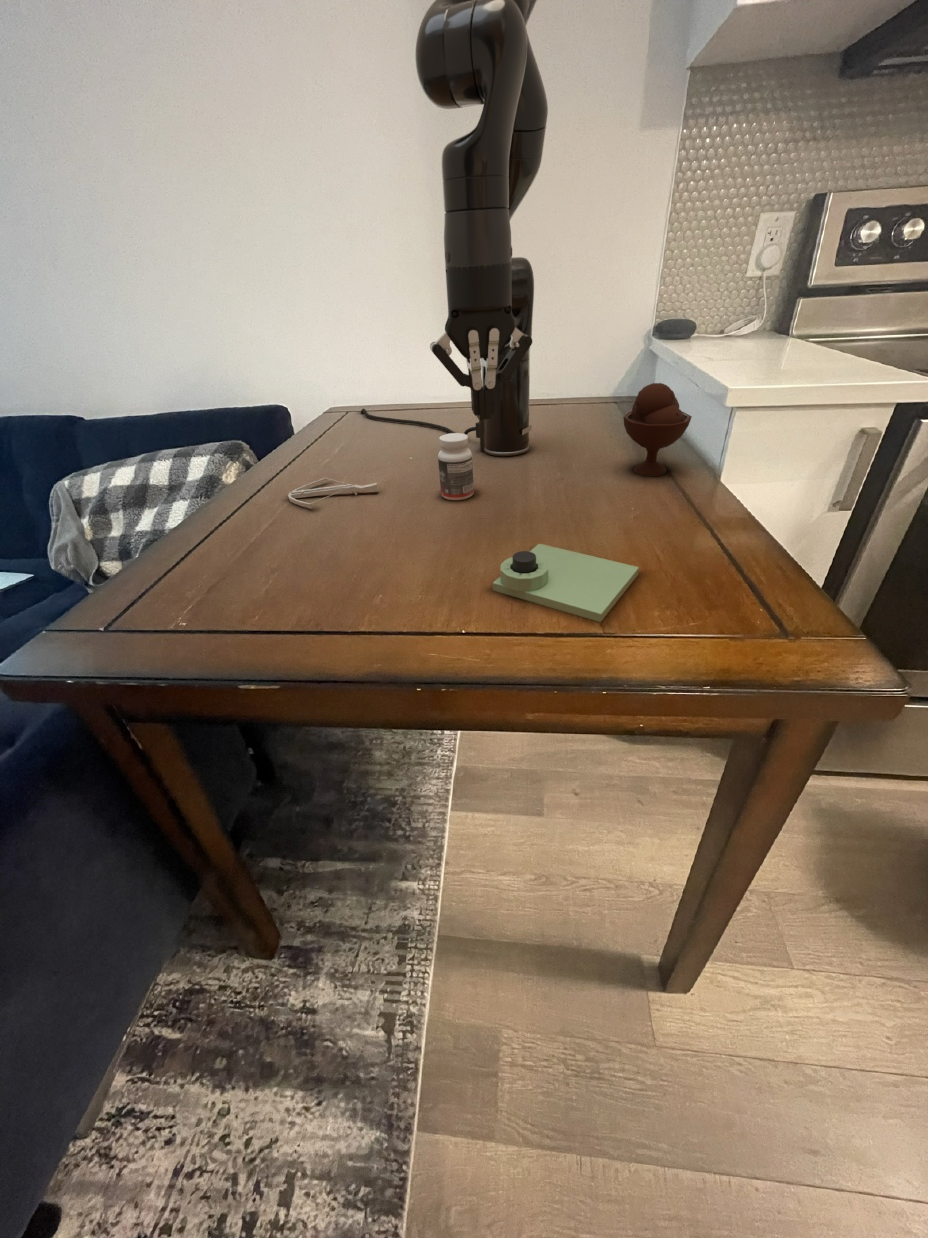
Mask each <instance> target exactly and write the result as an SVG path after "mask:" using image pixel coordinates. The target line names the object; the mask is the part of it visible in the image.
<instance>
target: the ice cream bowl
mask: <svg viewBox="0 0 928 1238" xmlns="http://www.w3.org/2000/svg"><path fill="white" fill-rule="evenodd" d="M692 417H693V416H692V415H690V414H688V413H686V412H685V411H682V409H680V404H679V400H678V398H677V397H676V394H675V392H674V390H673V389H671V388H670V386H668V385H667V384H665V383H662V382H653V383H649V384H647V385H645V386H644V387H643V388H642V389H641V390H639V391H638V393H637V396H636V398H635V399H634V403H633V404H632V407H631V411H629V412H627V413H626V414H625V415H624V416H623V426H624V429H625V433H626V434H627V435H628V436H629V438H630V439H631V440H632V441H633V442H634V443H636V444H637V445H639V446H640V447H641V448H644V449H645V450H646V457H645V458H646V459H645V460H644V461H643V462H641V463H638V464H636V466H634V469H633V472H635V474H637V475H641V476H645V477H657V476H662V475H665V473H666V472H667V469H666V467H665V466H664V465H663V464H661V463H660V462H658V461H657V458H658V453H659V451H660V450H661V449H664V448H667V447H669V446H671V445H673V444H675V443H676V442H677V441H678V440H679V439H681V438H682V436H683V435H684V433H685V432H686V430H687V429H688V427H689V426H690V424H691V423H690V422H691V420H692Z"/></svg>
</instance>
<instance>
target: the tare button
mask: <svg viewBox="0 0 928 1238" xmlns="http://www.w3.org/2000/svg"><path fill="white" fill-rule="evenodd" d="M512 557H513V571H514V572H517V573H521V574H526V573H531V572H535V570H536V555H535V554H534V553H532V552H530V550H529V551H527V550H521V551H517V552H515V553H513V554H512Z"/></svg>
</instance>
